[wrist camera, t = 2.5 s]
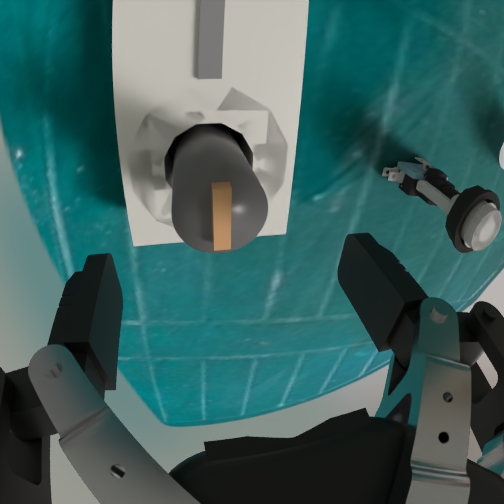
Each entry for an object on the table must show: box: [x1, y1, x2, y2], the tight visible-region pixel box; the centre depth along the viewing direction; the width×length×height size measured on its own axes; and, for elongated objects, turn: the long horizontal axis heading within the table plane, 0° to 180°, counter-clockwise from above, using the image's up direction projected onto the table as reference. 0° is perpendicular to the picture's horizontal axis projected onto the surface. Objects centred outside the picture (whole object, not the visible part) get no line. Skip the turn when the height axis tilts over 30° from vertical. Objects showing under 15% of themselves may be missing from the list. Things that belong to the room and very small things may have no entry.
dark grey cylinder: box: [171, 123, 268, 253], centre depth 16 cm, size 4×4×11 cm
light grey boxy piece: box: [112, 0, 309, 246], centre depth 17 cm, size 16×10×5 cm, turn 177°
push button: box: [382, 157, 502, 253], centre depth 21 cm, size 7×5×10 cm
